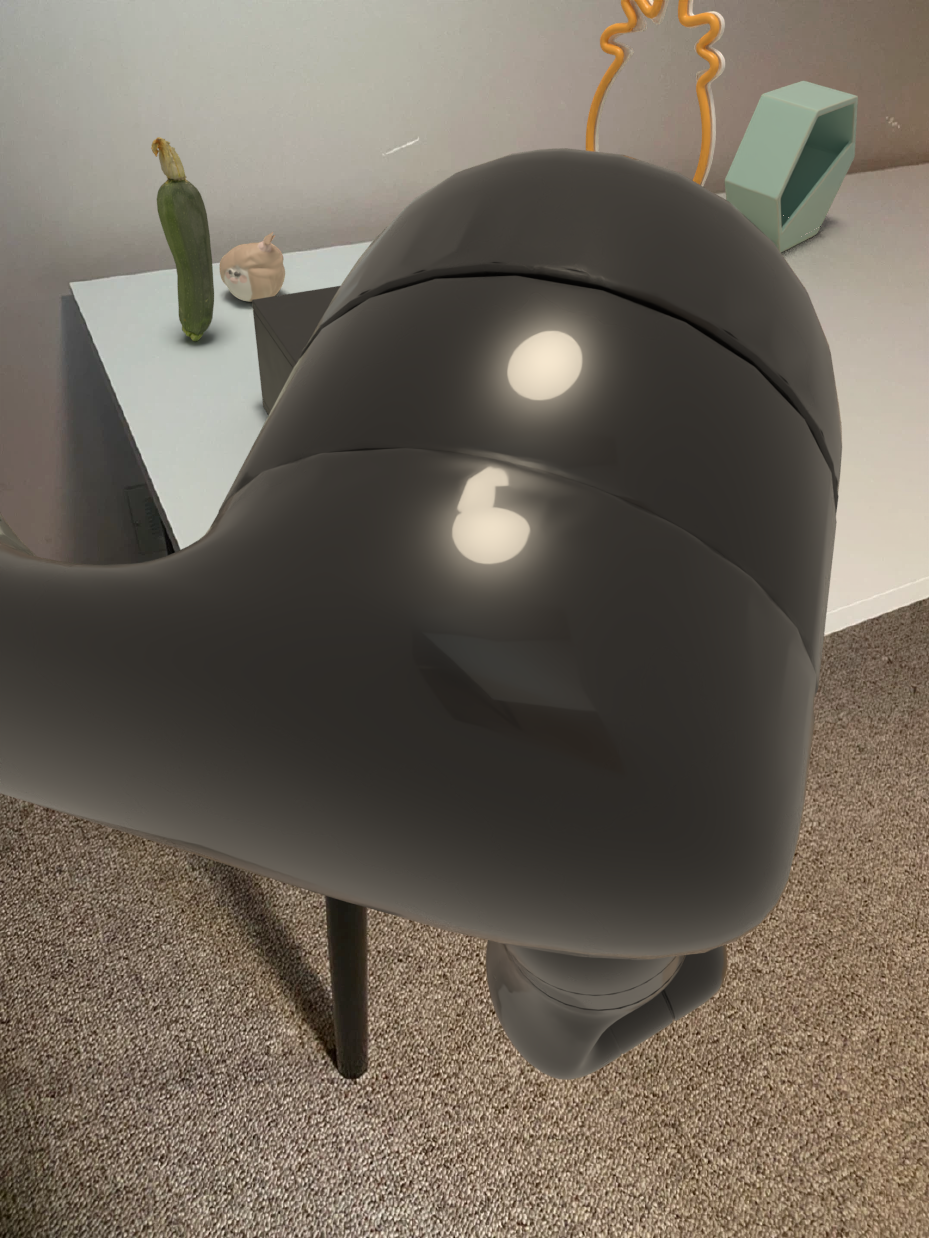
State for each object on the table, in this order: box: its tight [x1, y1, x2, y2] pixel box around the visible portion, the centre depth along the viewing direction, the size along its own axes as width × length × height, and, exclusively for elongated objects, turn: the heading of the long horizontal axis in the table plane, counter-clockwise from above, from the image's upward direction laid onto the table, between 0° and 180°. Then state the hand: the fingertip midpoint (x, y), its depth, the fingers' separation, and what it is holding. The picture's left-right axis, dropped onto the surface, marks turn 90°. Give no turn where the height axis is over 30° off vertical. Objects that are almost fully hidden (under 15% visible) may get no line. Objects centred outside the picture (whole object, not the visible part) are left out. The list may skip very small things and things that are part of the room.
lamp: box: [585, 0, 726, 187], centre depth 105 cm, size 17×9×32 cm, turn 47°
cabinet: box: [251, 285, 341, 416], centre depth 82 cm, size 15×14×11 cm
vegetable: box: [150, 136, 215, 342], centre depth 89 cm, size 4×4×20 cm
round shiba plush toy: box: [218, 231, 286, 303], centre depth 101 cm, size 7×6×8 cm
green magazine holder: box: [724, 80, 859, 253], centre depth 119 cm, size 17×8×21 cm
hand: (338, 529), depth 61 cm, fingers open, 7 cm apart
